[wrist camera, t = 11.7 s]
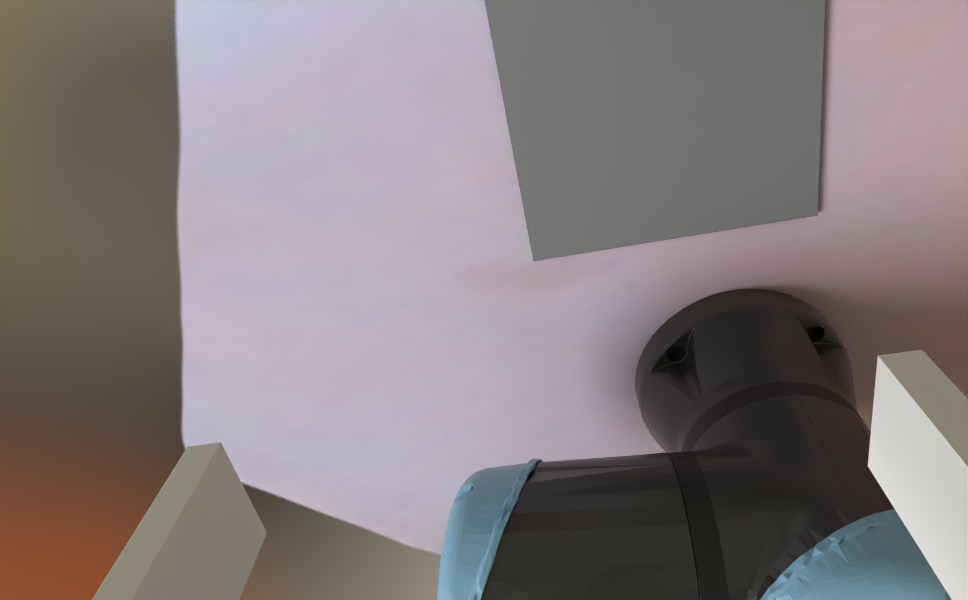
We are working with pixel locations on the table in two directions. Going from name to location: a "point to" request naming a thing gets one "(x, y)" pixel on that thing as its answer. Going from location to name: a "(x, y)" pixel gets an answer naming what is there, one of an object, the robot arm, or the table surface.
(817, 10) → the mat
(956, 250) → the table surface
